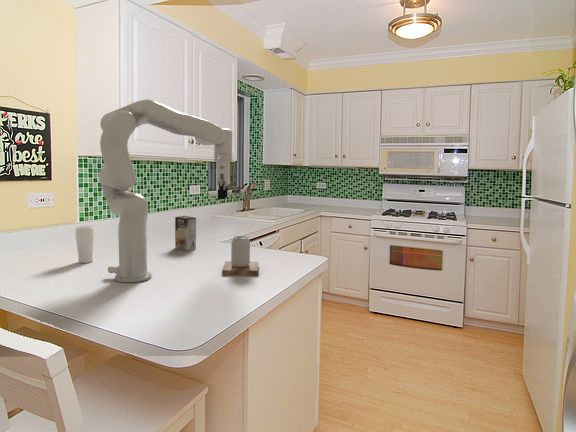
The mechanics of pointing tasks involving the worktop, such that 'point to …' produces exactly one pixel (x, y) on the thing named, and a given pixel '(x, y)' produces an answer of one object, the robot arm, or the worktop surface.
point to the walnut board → (240, 269)
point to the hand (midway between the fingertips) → (222, 198)
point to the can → (240, 251)
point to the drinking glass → (85, 243)
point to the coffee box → (185, 232)
